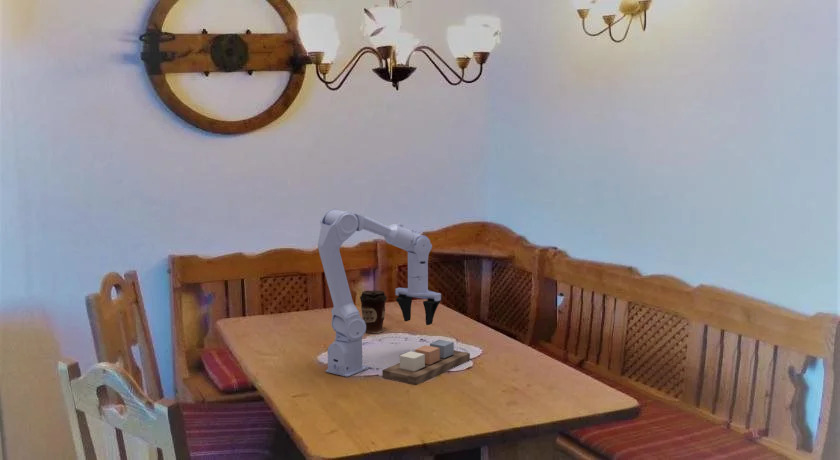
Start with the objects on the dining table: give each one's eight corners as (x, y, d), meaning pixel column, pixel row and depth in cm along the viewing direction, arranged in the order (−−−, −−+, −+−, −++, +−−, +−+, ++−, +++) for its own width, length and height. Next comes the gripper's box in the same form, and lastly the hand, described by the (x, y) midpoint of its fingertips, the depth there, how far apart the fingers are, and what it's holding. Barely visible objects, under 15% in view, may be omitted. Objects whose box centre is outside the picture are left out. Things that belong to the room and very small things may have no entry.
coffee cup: (374, 336, 253) (373, 295, 251) (354, 332, 258) (354, 292, 256) (391, 330, 260) (391, 291, 258) (372, 326, 265) (371, 288, 263)
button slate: (444, 358, 222) (444, 346, 221) (429, 355, 225) (429, 343, 224) (453, 354, 226) (453, 342, 225) (439, 351, 229) (439, 339, 228)
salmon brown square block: (429, 364, 216) (429, 352, 216) (415, 361, 219) (415, 349, 219) (439, 360, 220) (439, 348, 220) (425, 357, 223) (425, 345, 222)
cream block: (414, 371, 211) (414, 358, 210) (399, 368, 213) (399, 355, 213) (424, 366, 215) (424, 354, 214) (410, 363, 217) (410, 351, 217)
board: (415, 385, 206) (415, 377, 206) (382, 377, 213) (382, 370, 212) (469, 360, 227) (469, 353, 227) (437, 353, 234) (437, 347, 233)
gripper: (446, 276, 226) (447, 323, 228) (405, 271, 235) (405, 316, 237) (433, 280, 221) (433, 328, 223) (390, 274, 229) (391, 321, 231)
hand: (418, 322), depth 229 cm, fingers open, 7 cm apart
